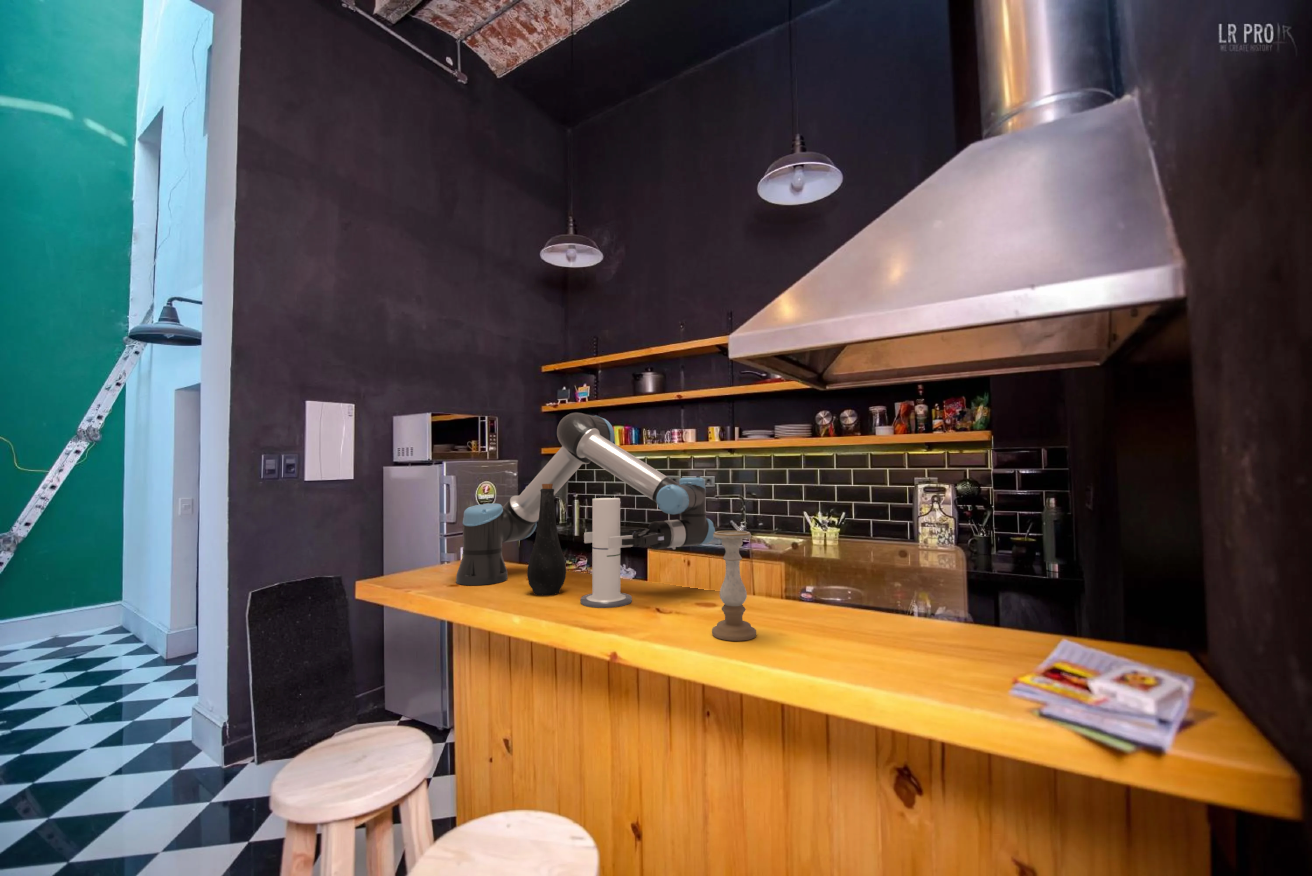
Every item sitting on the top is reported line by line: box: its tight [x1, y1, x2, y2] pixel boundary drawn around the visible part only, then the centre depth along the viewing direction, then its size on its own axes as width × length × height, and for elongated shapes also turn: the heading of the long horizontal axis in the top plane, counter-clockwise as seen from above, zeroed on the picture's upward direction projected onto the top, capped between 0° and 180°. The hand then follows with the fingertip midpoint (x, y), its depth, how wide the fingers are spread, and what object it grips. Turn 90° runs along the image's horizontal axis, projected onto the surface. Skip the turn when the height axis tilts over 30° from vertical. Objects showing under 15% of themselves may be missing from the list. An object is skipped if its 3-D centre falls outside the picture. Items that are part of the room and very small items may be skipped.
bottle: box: [526, 484, 567, 597], centre depth 146 cm, size 11×11×30 cm
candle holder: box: [711, 530, 757, 642], centre depth 106 cm, size 9×9×20 cm
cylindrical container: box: [591, 497, 621, 600], centre depth 135 cm, size 7×7×25 cm
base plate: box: [580, 592, 633, 609], centre depth 134 cm, size 13×13×1 cm
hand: (596, 540), depth 133 cm, fingers open, 13 cm apart
